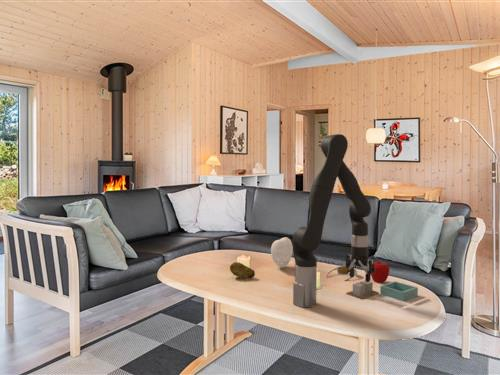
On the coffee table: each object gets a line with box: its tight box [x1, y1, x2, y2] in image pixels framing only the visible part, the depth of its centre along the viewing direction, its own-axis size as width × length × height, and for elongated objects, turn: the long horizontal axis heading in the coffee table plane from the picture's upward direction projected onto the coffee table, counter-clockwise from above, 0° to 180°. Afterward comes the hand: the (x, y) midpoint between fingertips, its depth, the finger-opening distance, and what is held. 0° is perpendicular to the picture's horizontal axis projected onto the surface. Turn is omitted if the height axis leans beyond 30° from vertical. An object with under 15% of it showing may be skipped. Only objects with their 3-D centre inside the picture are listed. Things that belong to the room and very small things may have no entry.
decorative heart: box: [270, 236, 293, 271], centre depth 225 cm, size 18×11×17 cm, turn 149°
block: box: [359, 280, 373, 295], centre depth 181 cm, size 4×4×5 cm
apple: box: [370, 261, 390, 284], centre depth 199 cm, size 10×10×11 cm
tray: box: [345, 289, 380, 300], centre depth 180 cm, size 13×9×1 cm
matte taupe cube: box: [352, 281, 365, 297], centre depth 178 cm, size 4×4×5 cm
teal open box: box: [379, 280, 419, 302], centre depth 178 cm, size 12×12×4 cm
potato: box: [229, 261, 256, 280], centre depth 206 cm, size 8×13×8 cm, turn 59°
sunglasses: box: [325, 265, 358, 282], centre depth 208 cm, size 14×15×5 cm
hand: (359, 279), depth 178 cm, fingers open, 8 cm apart
